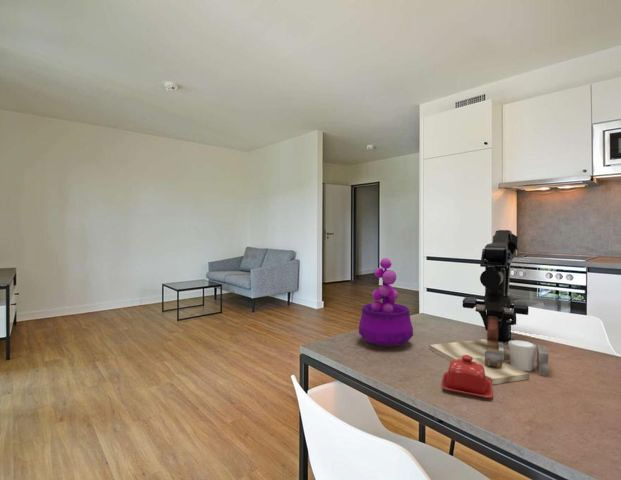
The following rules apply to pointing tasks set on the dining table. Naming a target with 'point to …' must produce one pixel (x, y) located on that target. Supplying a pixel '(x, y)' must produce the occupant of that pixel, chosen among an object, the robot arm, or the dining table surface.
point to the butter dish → (467, 378)
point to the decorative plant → (385, 313)
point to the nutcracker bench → (492, 373)
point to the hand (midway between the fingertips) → (493, 331)
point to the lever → (493, 344)
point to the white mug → (522, 354)
